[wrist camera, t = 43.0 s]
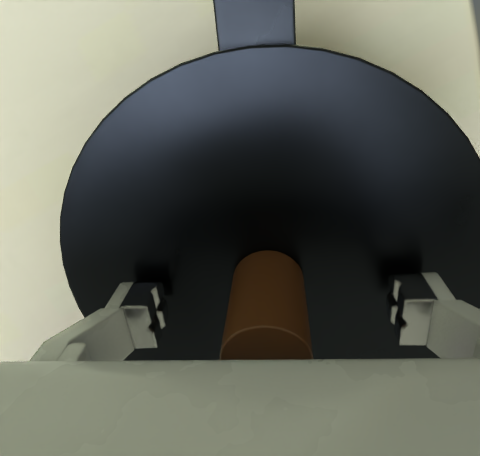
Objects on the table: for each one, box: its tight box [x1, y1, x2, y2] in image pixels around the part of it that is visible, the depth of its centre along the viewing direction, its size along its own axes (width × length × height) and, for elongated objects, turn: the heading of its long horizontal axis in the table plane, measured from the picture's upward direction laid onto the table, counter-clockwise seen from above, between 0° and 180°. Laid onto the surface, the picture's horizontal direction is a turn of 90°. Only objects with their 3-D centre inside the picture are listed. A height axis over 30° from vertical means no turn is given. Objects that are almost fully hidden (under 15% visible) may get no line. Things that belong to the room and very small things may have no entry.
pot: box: [213, 0, 296, 51], centre depth 20 cm, size 15×20×12 cm
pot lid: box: [60, 44, 480, 361], centre depth 13 cm, size 16×16×5 cm
